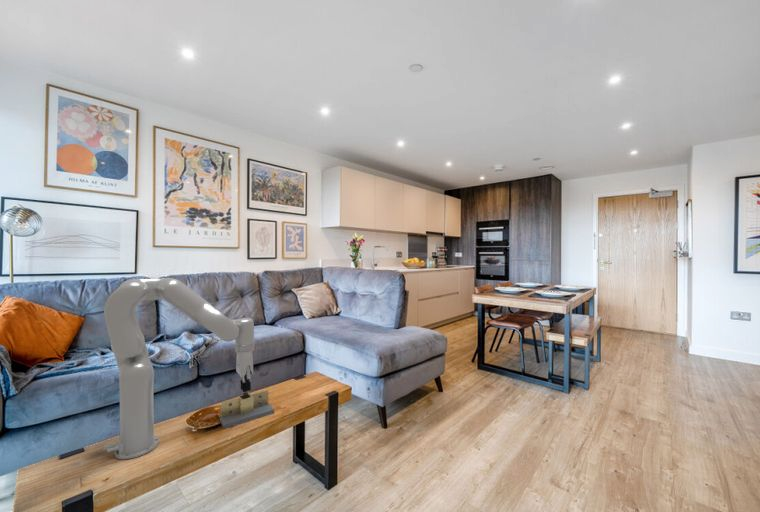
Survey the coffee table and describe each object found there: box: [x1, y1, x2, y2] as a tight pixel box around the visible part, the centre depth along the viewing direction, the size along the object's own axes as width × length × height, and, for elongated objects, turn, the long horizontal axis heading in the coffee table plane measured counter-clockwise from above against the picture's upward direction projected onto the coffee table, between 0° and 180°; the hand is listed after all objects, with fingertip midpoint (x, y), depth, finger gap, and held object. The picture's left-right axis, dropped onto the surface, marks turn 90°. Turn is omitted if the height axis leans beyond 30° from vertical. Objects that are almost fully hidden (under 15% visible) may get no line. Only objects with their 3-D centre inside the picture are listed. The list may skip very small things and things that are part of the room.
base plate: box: [219, 402, 275, 429], centre depth 137 cm, size 20×14×2 cm
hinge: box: [220, 390, 269, 418], centre depth 137 cm, size 19×5×6 cm, turn 127°
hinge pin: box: [242, 374, 250, 397], centre depth 137 cm, size 2×2×9 cm
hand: (245, 389), depth 137 cm, fingers closed on hinge pin, 2 cm apart
